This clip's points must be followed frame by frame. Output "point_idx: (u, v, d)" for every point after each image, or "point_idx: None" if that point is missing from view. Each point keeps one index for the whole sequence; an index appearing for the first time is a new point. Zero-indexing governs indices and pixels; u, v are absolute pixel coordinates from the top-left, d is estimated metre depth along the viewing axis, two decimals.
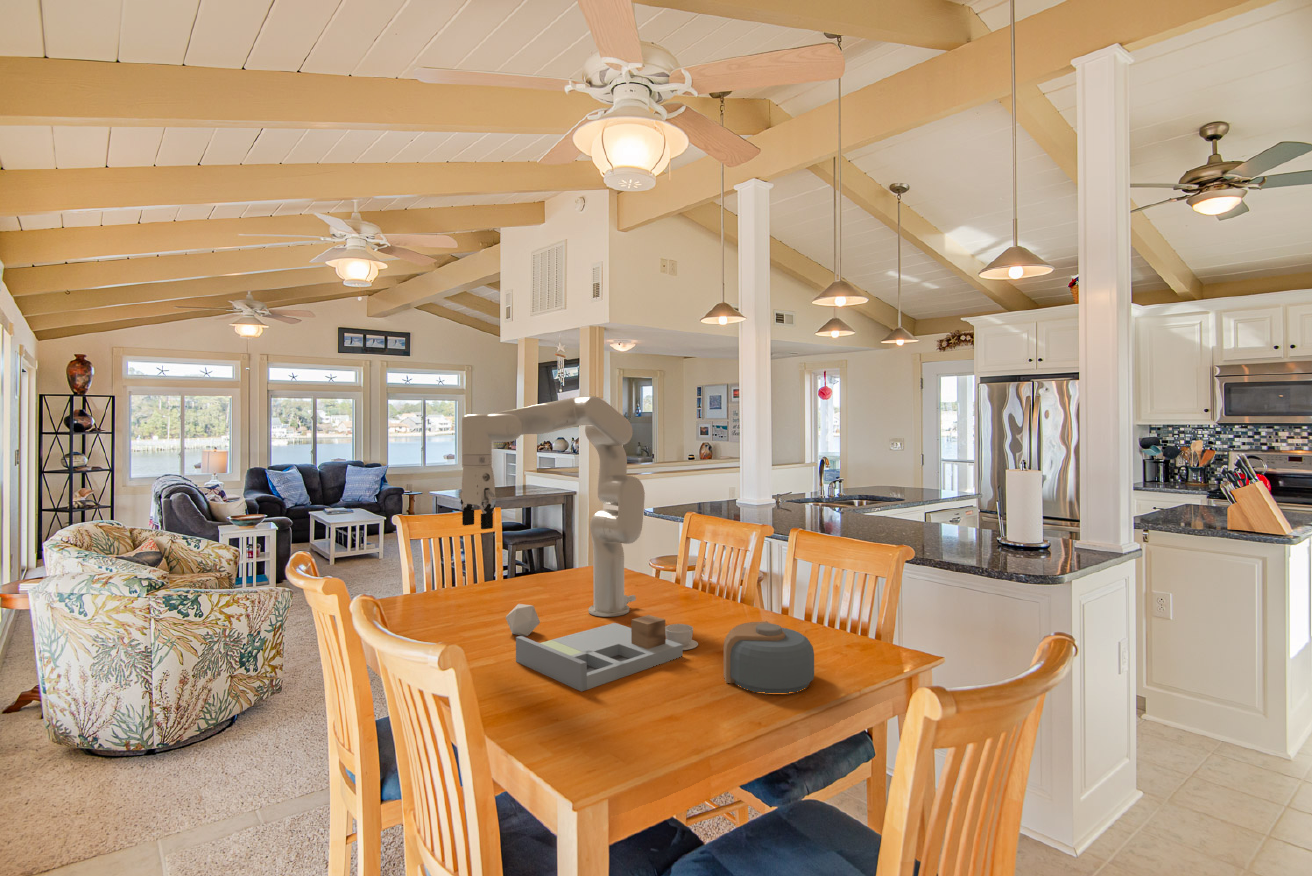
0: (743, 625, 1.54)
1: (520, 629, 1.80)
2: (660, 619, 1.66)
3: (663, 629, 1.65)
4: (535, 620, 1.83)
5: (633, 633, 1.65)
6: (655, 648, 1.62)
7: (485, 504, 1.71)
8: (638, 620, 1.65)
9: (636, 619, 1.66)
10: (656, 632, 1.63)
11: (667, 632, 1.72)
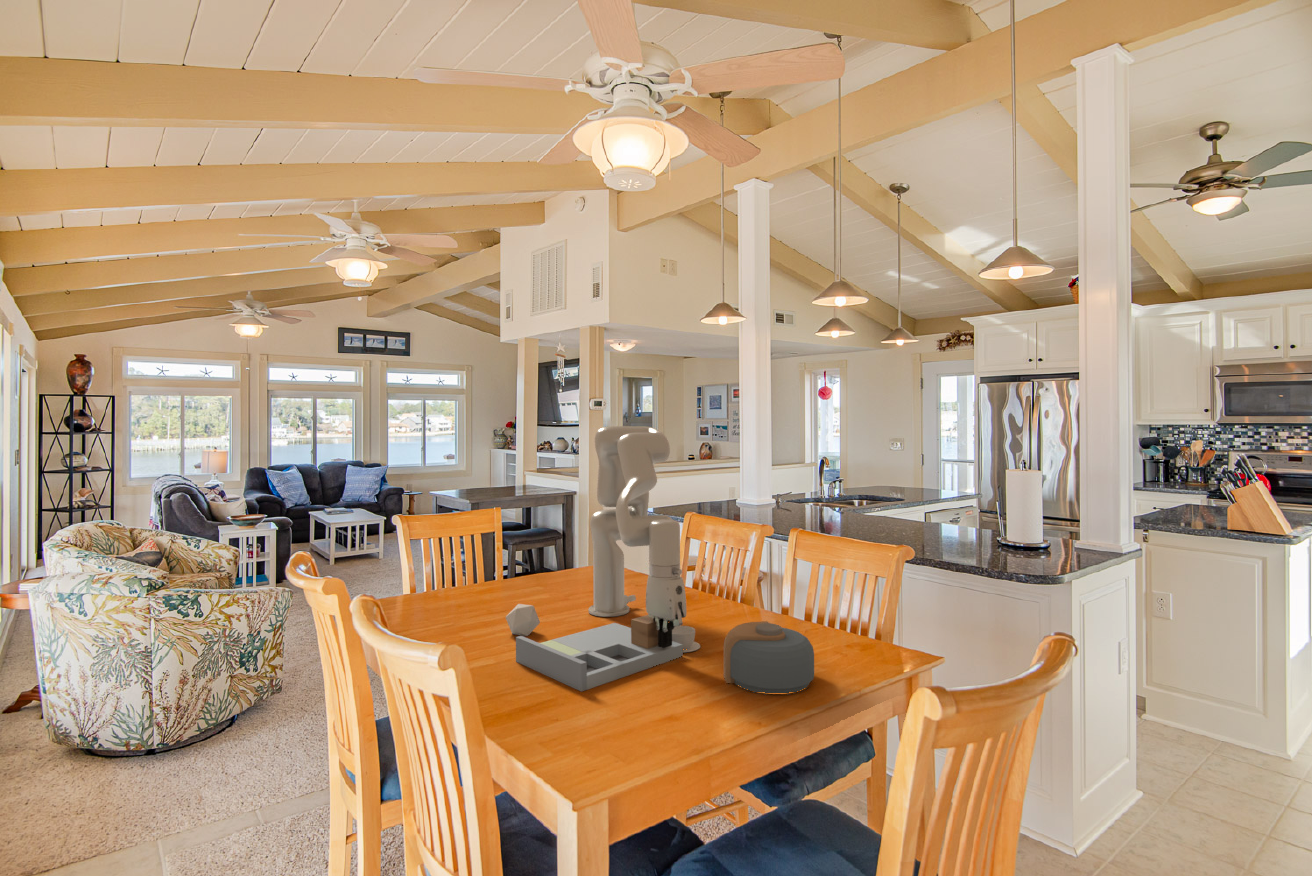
0: (743, 625, 1.54)
1: (520, 629, 1.80)
2: None
3: None
4: (535, 620, 1.83)
5: (633, 633, 1.65)
6: (655, 648, 1.62)
7: None
8: (637, 620, 1.65)
9: (636, 619, 1.66)
10: (656, 632, 1.63)
11: None
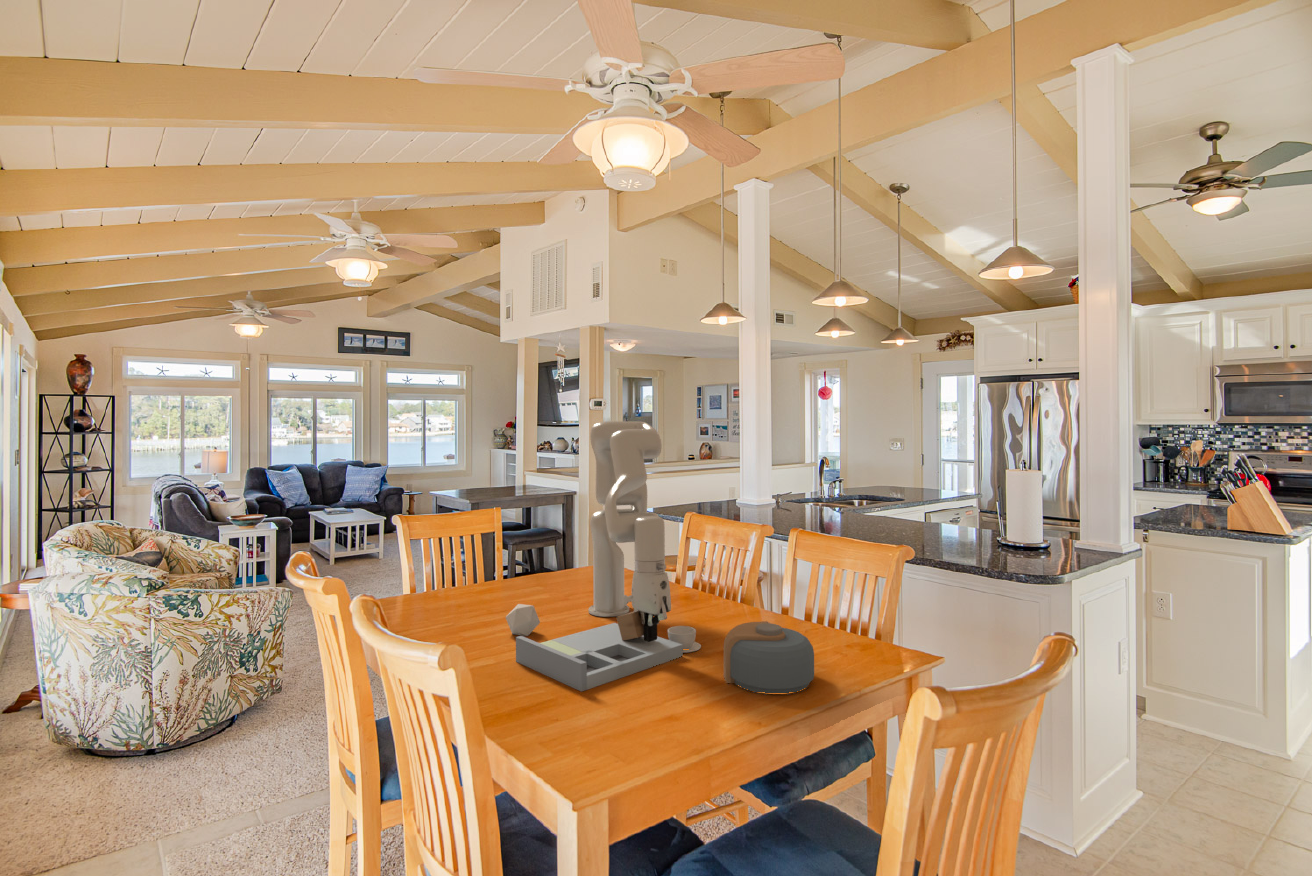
0: (743, 625, 1.54)
1: (520, 629, 1.80)
2: None
3: None
4: (535, 620, 1.83)
5: (621, 629, 1.68)
6: (655, 648, 1.62)
7: None
8: (622, 615, 1.68)
9: (621, 615, 1.69)
10: None
11: (670, 634, 1.70)
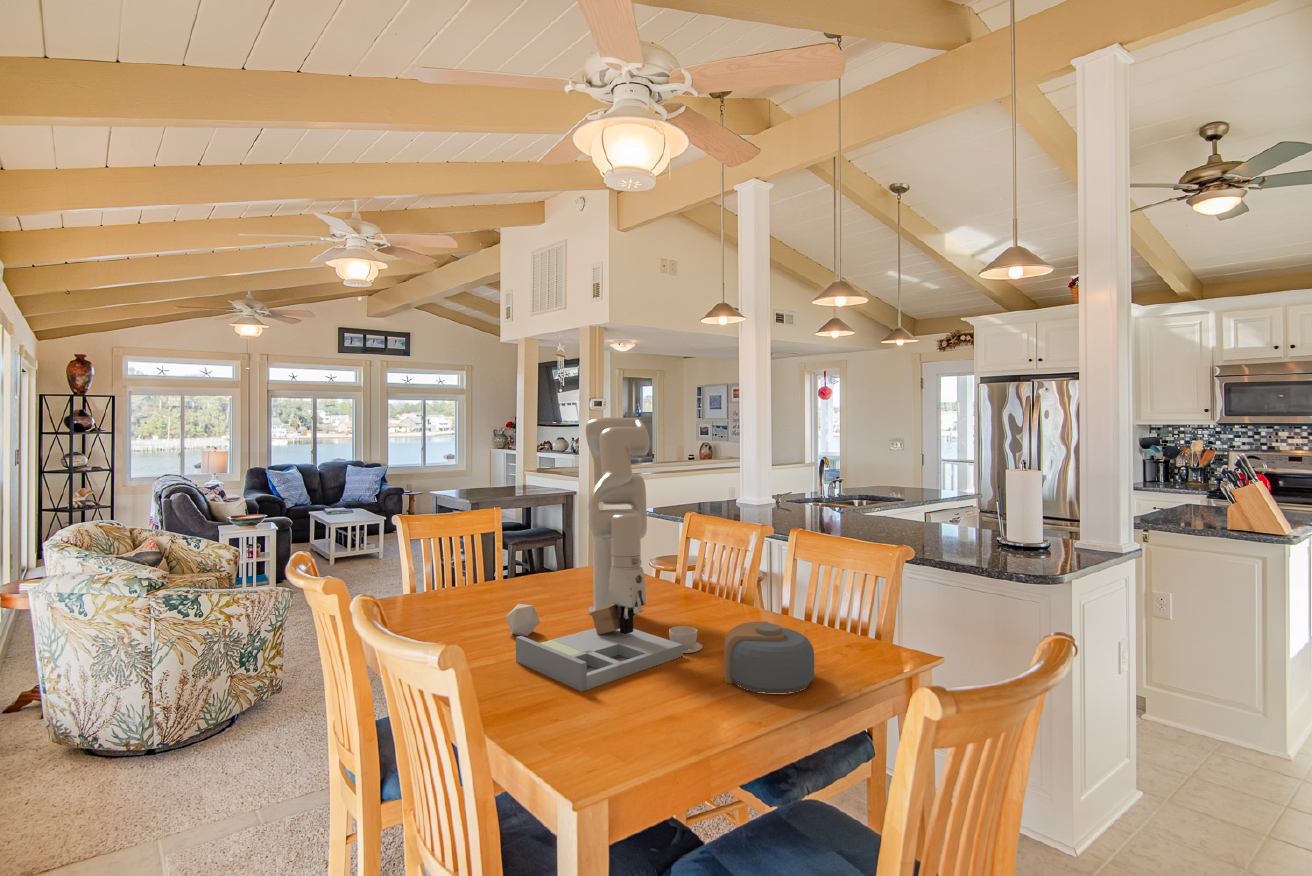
0: (743, 625, 1.54)
1: (520, 629, 1.80)
2: None
3: None
4: (535, 620, 1.83)
5: (596, 624, 1.73)
6: (655, 648, 1.62)
7: None
8: (597, 610, 1.73)
9: None
10: (617, 614, 1.73)
11: (671, 634, 1.70)
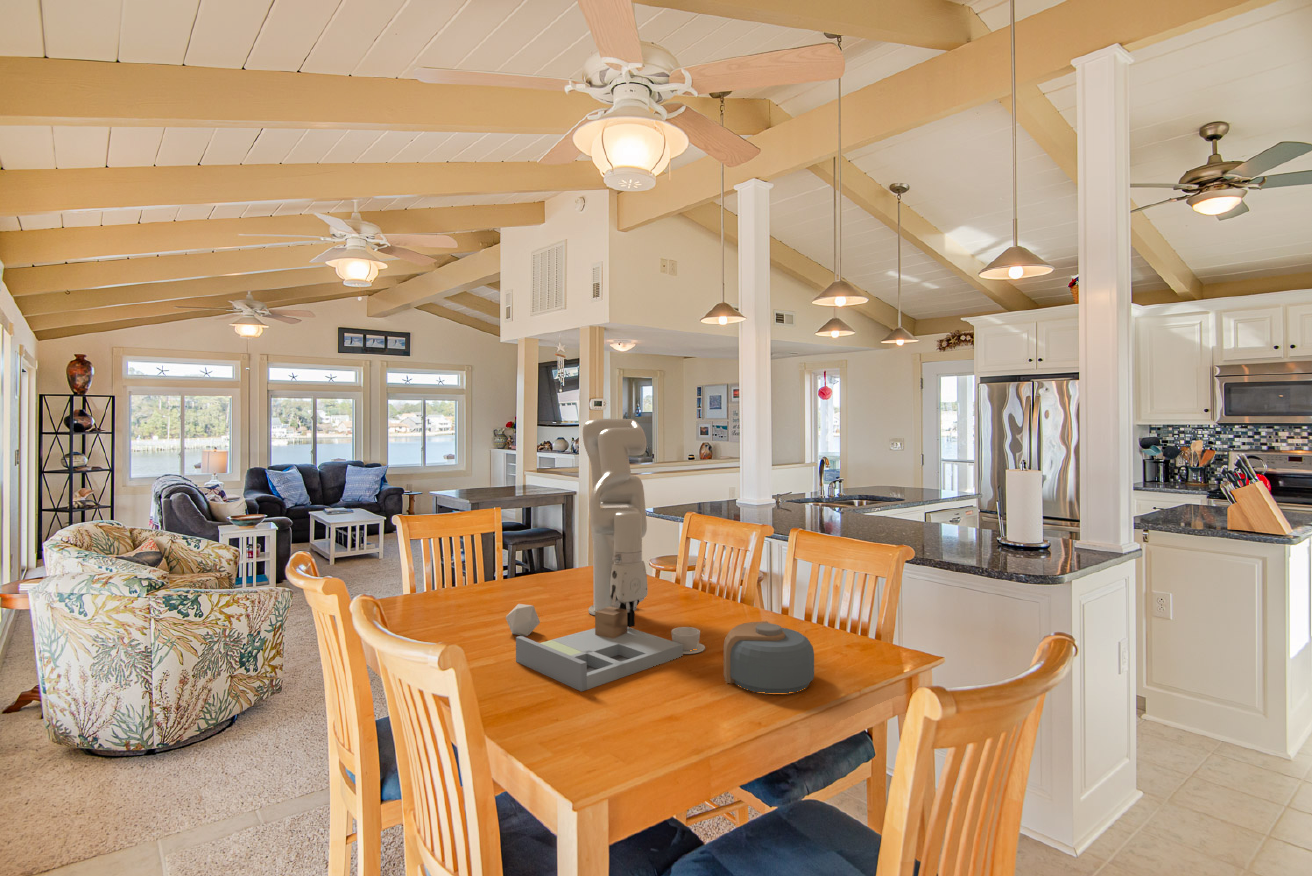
0: (743, 625, 1.54)
1: (520, 629, 1.80)
2: (622, 610, 1.74)
3: (625, 619, 1.74)
4: (535, 620, 1.83)
5: (597, 625, 1.72)
6: (655, 648, 1.62)
7: None
8: (602, 612, 1.72)
9: (599, 611, 1.73)
10: (620, 622, 1.72)
11: (673, 635, 1.69)
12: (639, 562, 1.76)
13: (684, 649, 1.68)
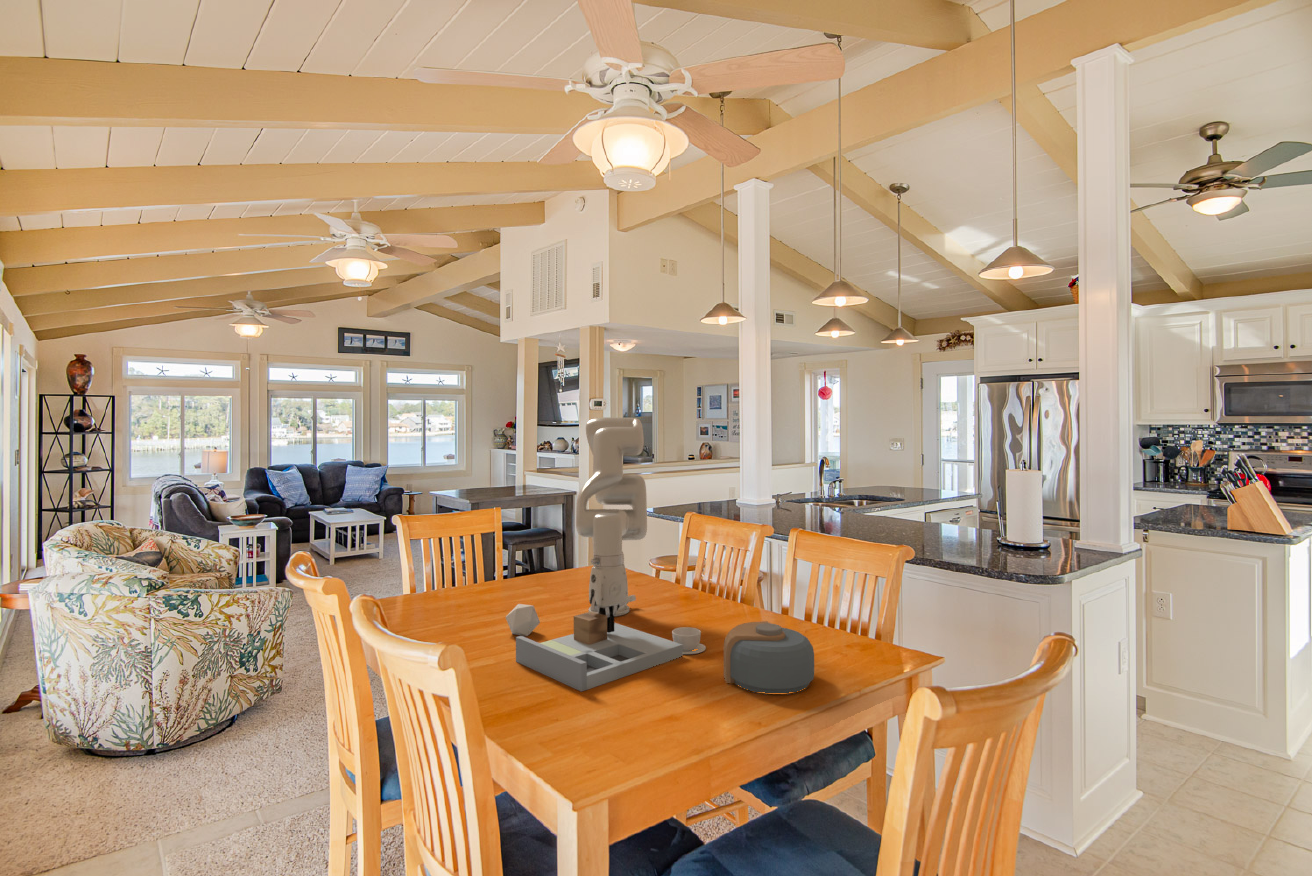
0: (743, 625, 1.54)
1: (520, 629, 1.80)
2: (602, 615, 1.69)
3: (605, 625, 1.69)
4: (535, 620, 1.83)
5: (575, 629, 1.68)
6: (655, 648, 1.62)
7: None
8: (580, 617, 1.68)
9: (578, 616, 1.69)
10: (597, 628, 1.67)
11: (674, 635, 1.69)
12: (619, 566, 1.71)
13: (685, 649, 1.68)
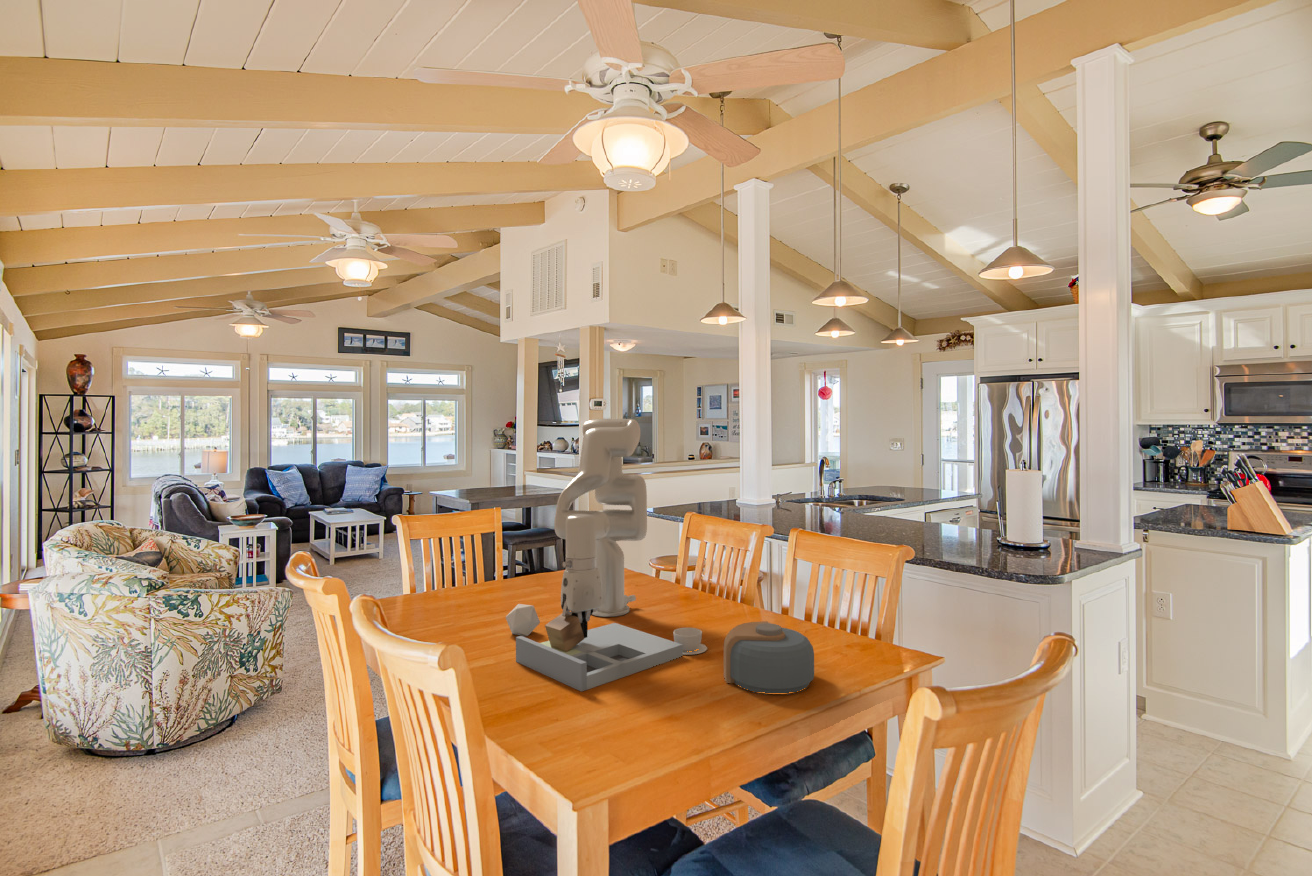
0: (743, 625, 1.54)
1: (520, 629, 1.80)
2: (573, 618, 1.62)
3: (578, 627, 1.62)
4: (535, 620, 1.83)
5: (550, 637, 1.63)
6: (655, 648, 1.62)
7: None
8: (551, 625, 1.61)
9: (549, 624, 1.62)
10: (571, 633, 1.61)
11: (675, 636, 1.69)
12: (592, 569, 1.65)
13: (686, 650, 1.68)
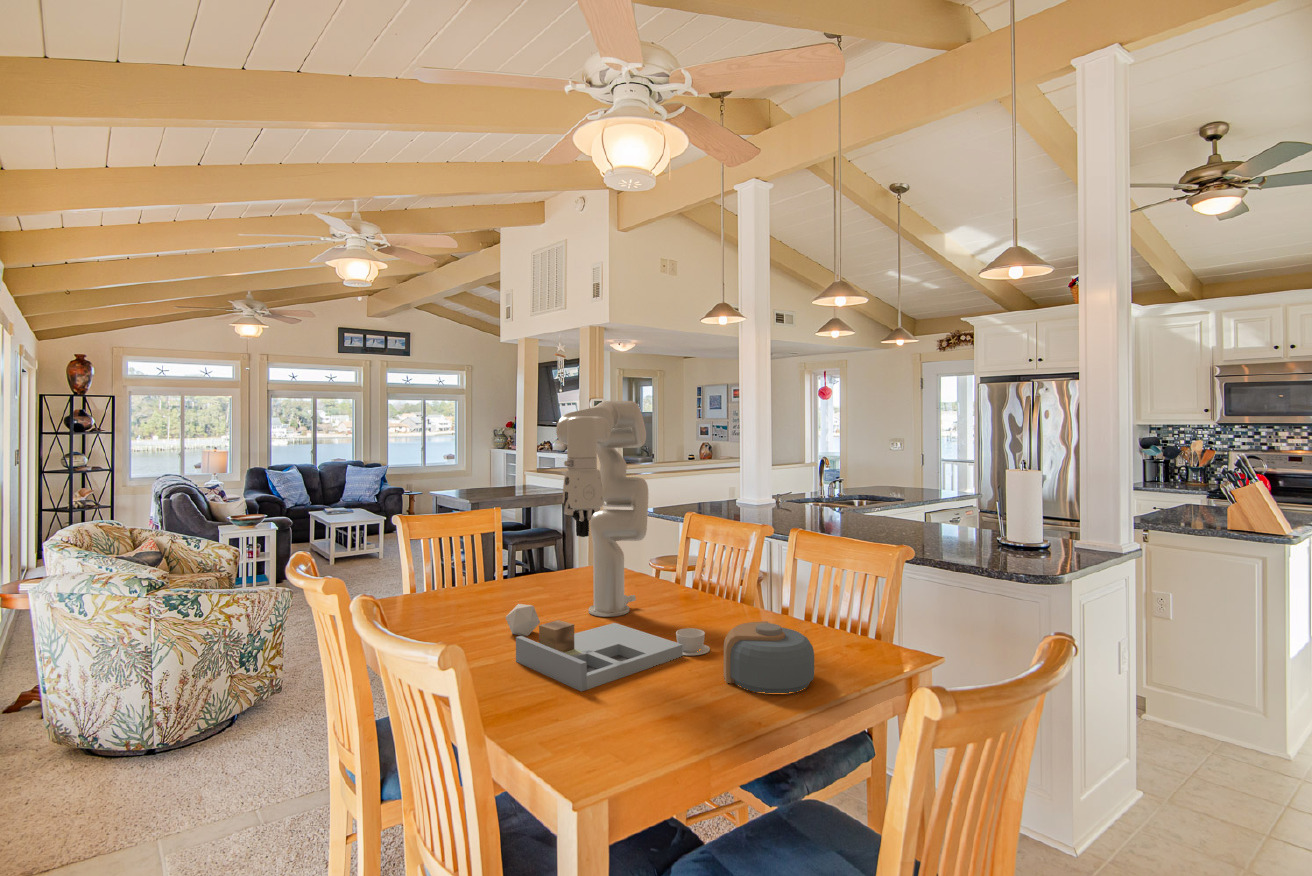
0: (743, 625, 1.54)
1: (520, 629, 1.80)
2: (569, 624, 1.62)
3: (572, 634, 1.61)
4: (535, 620, 1.83)
5: (541, 639, 1.61)
6: (655, 648, 1.62)
7: None
8: (546, 626, 1.60)
9: (544, 625, 1.61)
10: (564, 638, 1.60)
11: (678, 636, 1.68)
12: (593, 469, 1.68)
13: (688, 650, 1.67)
